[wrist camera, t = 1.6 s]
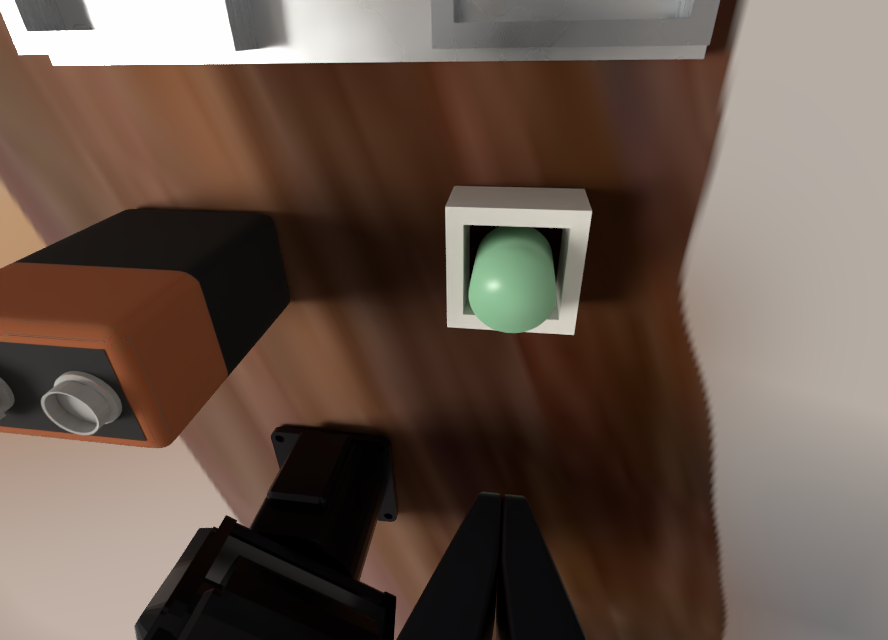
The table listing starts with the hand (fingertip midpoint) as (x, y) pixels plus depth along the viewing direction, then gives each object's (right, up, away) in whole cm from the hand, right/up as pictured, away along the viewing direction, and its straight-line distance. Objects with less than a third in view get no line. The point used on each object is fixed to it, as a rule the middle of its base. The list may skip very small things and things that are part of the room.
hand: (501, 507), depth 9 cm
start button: (+2, +6, +9) cm, 11 cm away
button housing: (+2, +6, +10) cm, 12 cm away
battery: (-11, +6, +13) cm, 18 cm away
